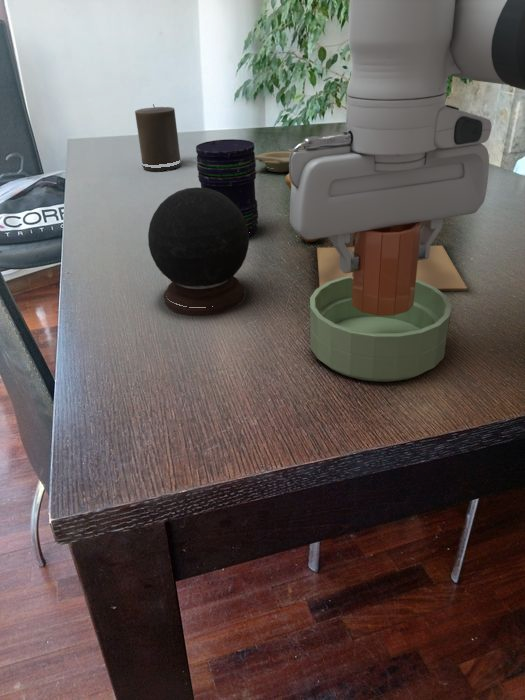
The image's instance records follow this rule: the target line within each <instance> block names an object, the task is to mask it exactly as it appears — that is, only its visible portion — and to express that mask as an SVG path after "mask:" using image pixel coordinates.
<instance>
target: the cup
mask: <svg viewBox="0 0 525 700" xmlns="http://www.w3.org/2000/svg"><path fill="white" fill-rule="evenodd" d="M421 230H422V223H420V222H417V223H411V224H404V225H398V226H392V227H386V228H379V229H373V230H367V231H361V232H355V233H352V247H353V252H354V253H355V254H357V255H358V256H359V264H358V266H359V270H358V271H356V272H352V291H351V300H352V305H353V306H354V307H355V308H356V309H358V310H359V311H361V312H363V313H368V314H372V315H376V316H377V315H378V316H393V315H397V314H401V313H404V312H407V311H408V310H409V309H410V308H411V307H412V306H413V305H414V295H415V285H416V275H417V264H418V254H419V244H420V233H421Z"/></svg>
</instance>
